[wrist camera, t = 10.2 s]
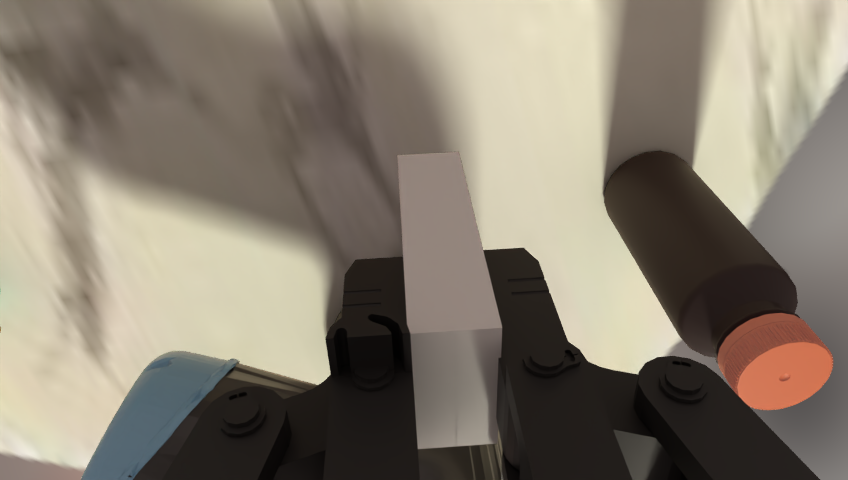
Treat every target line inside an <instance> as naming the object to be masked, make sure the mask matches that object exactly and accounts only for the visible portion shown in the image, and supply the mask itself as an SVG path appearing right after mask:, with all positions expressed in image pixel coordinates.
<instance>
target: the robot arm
mask: <svg viewBox="0 0 848 480" xmlns="http://www.w3.org/2000/svg"><path fill="white" fill-rule="evenodd" d="M397 157H398V174H399V192H400V210H401V227H402V245H403V257H393V258H377V259H361V260H355V262H354V263H353V264H352V266H351V267H350V269H349V270H348V271H347V273H346V274H345V280H344V295H343V308H342V311H341V312H340V314H339V316H338V317H337V319H336V322H335V324H333V325H332V326H331V327H330V329H329V331H328V334H327V336H326V345H327V351H328V358H329V364H330V371H331V375H330V376H329V377H328V378H327V379H326V380H325V381H324V382H322V383H321V384H319V385H315V384H312V383H308V382H304V381H301V380H297V379H293V378H290V377H286V376H282V375H279V374H275V373H271V372H268V371H264V370H261V369H257V368H253V367H250V366H246V365H242V364H239V362H240V361H239V360H237V359H230V360H228V361H227V360H222V359H218V358H213V357H209V356H204V355H200V354H195V353H191V352H186V351H172V352H168V353H165V354H163V355H161V356H159V357H157V358H156V359H154V360H153V361H152V362H151V363H150V364H149V365H148V366H147V367H146V368H145V369H144V371H143V372H142V373H141V375H140V376H139V377H138V379H137V380H136V382H135V383H134V385H133V387H132V388H131V390H130V391H129V393H128V394H127V396H126V397H125V399H124V401H123V403H122V404H121V406H120V408H119V409H118V411H117V413H116V414H115V416H114V418H113V420H112V421H111V423H110V425H109V427H108V428H107V430H106V432H105V434H104V436H103V437H102V439H101V441H100V443H99V445H98V447H97V448H96V450H95V452H94V454H93V456H92V458H91V460H90V462H89V464H88V466H87V468H86V470H85V472H84V474H83V476H82V478H81V480H820V479H819V478H818V477H817V476H816V475H815V474H814V473H813V472H812V471H811V470H810V469H809V468H808V467H807V466H806V465H805V464H804V463H803V462H802V461H801V460H800V459H799V458H798V456H796V454H795V453H794V452H792V450H791V449H790V448H789V447H788V446H787V445H786V444H785V443H784V442H783V441H782V440H781V439H780V438H779V437H778V436H777V435H776V434H775V433H774V432H773V431H772V430H771V429H770V428H769V427H768V426H767V425H766V424H765V423H764V422H763V421H762V420H761V419H760V417H758V416H757V414H756V413H755V412H753V410H752V409H751V408H750V407H749V406H748V405H747V404H746V403H745V402H744V401H743V400H742V399H741V398H740V397H739V396H738V395H737V394H736V393H735V392H734V391H733V390H732V389H731V388H730V387H729V386H728V385H727V384H726V383H725V382H724V380H723V379H722V378H721V377H720V376H718V375H717V374H716V373H715V372H713V371H712V370H711V369H710V368H708V367H707V366H706V365H703V364H701V363H698V362H696V361H693V360H691V359H688V358H682V357H676V356H667V357H657V358H655V359H653V360H651V361H649V362H647V363H645V365H644V366H643V367H642V369H641V370H640V371H639V375H637V374H632V373H626V372H620V371H614V370H610V369H606V368H602V367H599V366H597V365H594V364H592V363H590V362H588V361H587V360H586V358H585V357H584V356H583V354H582V353H581V351H580V350H579V349H578V348H577V347H575V346H574V345H572V344H571V343H569V342H568V340H567V338H566V335H565V332H564V330H563V327H562V324H561V321H560V319H559V316H558V313H557V311H556V308H555V305H554V302H553V300H552V297H551V294H550V293H549V289H548V286H547V283H546V281H545V280H544V275H543V272H542V270H541V267H540V264H539V262H538V260H536V259H535V258H534V257H533V256H532V255H531V254H530V253H529V252H528V251H526V250H525V249H524V248H513V249H496V250H483V247H482V243H481V239H480V235H479V231H478V227H477V223H476V219H475V215H474V211H473V207H472V203H471V199H470V195H469V191H468V187H467V183H466V178H465V174H464V170H463V166H462V162H461V158H460V154H459V152H443V153H425V154H408V155H397Z"/></svg>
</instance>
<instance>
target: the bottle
mask: <svg viewBox="0 0 848 480" xmlns="http://www.w3.org/2000/svg"><path fill="white" fill-rule="evenodd" d="M604 203H605V206H606V210H607V213H608V215H609V217H610V219H611V220H612V222H613V224H614V225H615V227H616V229H617V230H618V232H619V234H620V236H621V237H622V239H623V241H624V242H625V244H626V246H627V247H628V249H629V251H630V253H631V254H632V256H633V258H634V259H635V261H636V263H637V264H638V266H639V268H640V270H641V271H642V273H643V275H644V276H645V278H646V280H647V281H648V283H649V285H650V287H651V288H652V290H653V292H654V293H655V295H656V297H657V298H658V300H659V302H660V304H661V305H662V307H663V309H664V310H665V312H666V314H667V315H668V317H669V319H670V321H671V322H672V324H673V326H674V327H675V329H676V331H677V332H678V334H679V336H680V337H681V338H682V339H683V341H684V342H685V343H686V344H687V345H688V347H689V348H691V349H692V350H694V351H696V352H698V353H700V354H702V355H704V356H708V357H715V358H716V362H717V363H718V365H719V368H720V370H721V372H722V373H723V375H724V376H725V378H726V379H727V381H728V383H729V384H730V386H731V387H732V389H733V391H734V392H735V393H736V394H737V395H738V396H739V397H740V398H741V399H742V400H743V401H744V402H745V403H746V404H747V405H748V406H749V407H750V406H751V407H752V408H755V409H762V410H775V409H782V408H786V407H789V406H792V405H795V404H797V403H799V402H801V401H803V400H805V399H807V398H809V397H810V396H812V395H813V394H814V393H815V392H816V391H818V390H819V389H820V388H821V387H822V386H823V384H824V383H825V382H826V381H827V379H828V378H829V375H830V373H831V371H832V368H833V367H832V366H833V364H832V363H833V361H832V360H833V358H832V355H831V352H830V351H829V349H828V348H827V347H826V346H825V345H824V343H823V342H822V341H821V340H820V339H819V338H818V336H817V335H816V334H815V333H814V332H813V331H812V329H810V327H809V326H808V325H807V324H806V322H805V321H804V320H802V319H800V317H799V316H798V315H797V314H795V310H796V307H797V303H798V301H797V292H796V287H795V285H794V283H793V282H792V280H791V279H790V277H789V276H788V274H787V273H786V272H785V270H784V269H783V268H782V267H781V266H780V265H779V264H778V263H777V262H776V261H775V260H774V258H773V257H772V256H771V255H770V254H769V253H768V252H767V251H766V250H765V248H764V247H763V246H762V245H761V244H760V243H759V242H758V241H757V240H756V239H755V238H754V236H753V235H752V234H751V233H750V232H749V231H748V230H747V229H746V228H745V227H744V225H743V224H742V223H741V222H740V221H739V220H738V219H737V218H736V217H735V216H734V214H733V213H732V212H731V211H730V210H729V209H728V208H727V207H726V206H725V205H724V203H723V202H722V201H721V200H720V199H719V198H718V197H717V196H716V195H715V194H714V192H713V191H712V190H711V189H710V188H709V187H708V186H707V185H706V184H705V183H704V182H703V180H702V179H701V178H700V177H699V176H698V175H697V174H696V173H695V172H694V171H693V169H692V168H691V167H690V166H689V165H688V164H687V163H686V162H685V161H684V160H682V159H681V158H679V157H678V156H676V155H675V154H671V153H667V152H662V151H655V152H645V153H643V154H640V155H638V156H635V157H632V158H631V159H629V160H628V161H626V162H625V163H624V164H622V165H621V166H620V167H619V168H618V169H617V170H616V171H615V173H614V174H613V175H612V176H611V178H610V180H609V182H608V184H607V187H606V189H605V200H604Z"/></svg>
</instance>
